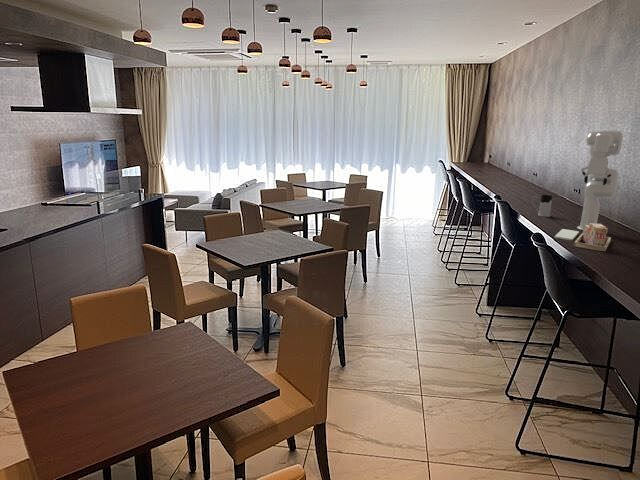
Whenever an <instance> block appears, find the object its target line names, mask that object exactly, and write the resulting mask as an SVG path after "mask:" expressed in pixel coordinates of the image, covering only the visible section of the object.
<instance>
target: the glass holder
mask: <svg viewBox="0 0 640 480" xmlns="http://www.w3.org/2000/svg"><path fill="white" fill-rule="evenodd" d="M534 198H537V202H538V203H539V209H538V208H537V207H536V206H535V205H534V200H533V199H534ZM531 203H532V206H533V208H535V209H536V211H537V213H538V214H537V216H538V217H545V218H549V217H551V209H552V203H553V195H551V194H550V195H549V194H542V195H541V196H540V199H539V197H538V196H536V195H534V196H533V197H532V199H531Z"/></svg>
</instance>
